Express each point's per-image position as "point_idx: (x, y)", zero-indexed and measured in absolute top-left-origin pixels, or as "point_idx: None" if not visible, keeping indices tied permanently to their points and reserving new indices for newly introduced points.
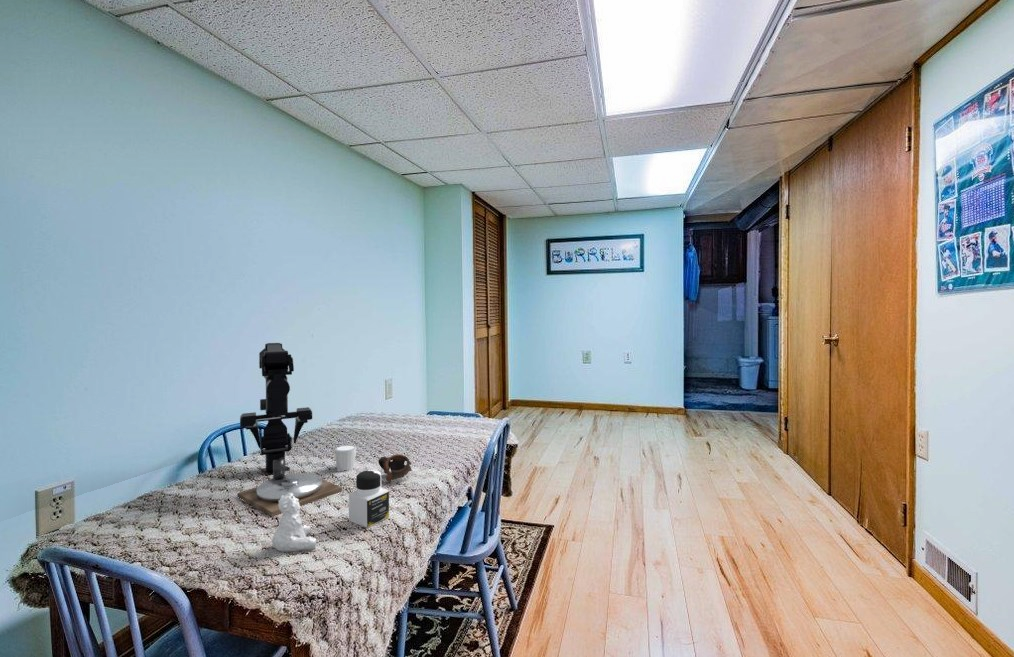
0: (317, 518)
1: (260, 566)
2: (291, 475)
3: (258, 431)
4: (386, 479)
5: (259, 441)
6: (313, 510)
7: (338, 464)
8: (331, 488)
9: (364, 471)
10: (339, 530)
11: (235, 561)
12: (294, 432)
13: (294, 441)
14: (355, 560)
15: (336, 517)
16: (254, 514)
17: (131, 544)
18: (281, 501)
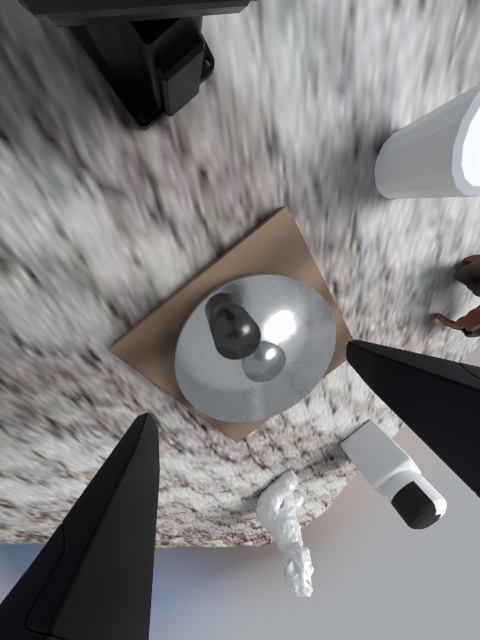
0: (303, 437)
1: (247, 521)
2: (258, 291)
3: (107, 638)
4: (438, 316)
5: (153, 500)
6: (298, 415)
7: (395, 184)
8: (339, 353)
9: (430, 517)
10: (325, 462)
11: (217, 520)
12: (420, 385)
13: (358, 371)
14: (330, 501)
15: (327, 435)
16: (199, 427)
17: (8, 520)
18: (293, 591)
